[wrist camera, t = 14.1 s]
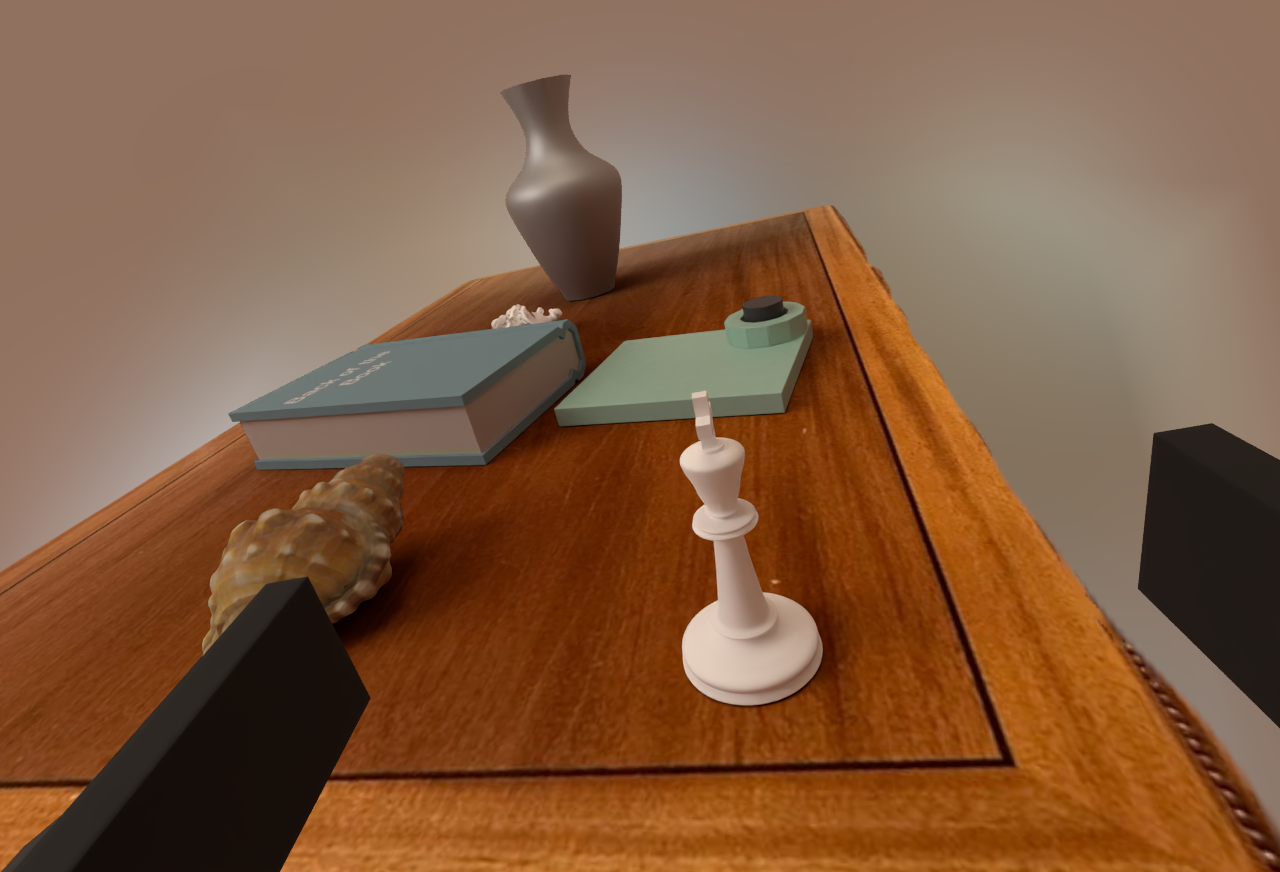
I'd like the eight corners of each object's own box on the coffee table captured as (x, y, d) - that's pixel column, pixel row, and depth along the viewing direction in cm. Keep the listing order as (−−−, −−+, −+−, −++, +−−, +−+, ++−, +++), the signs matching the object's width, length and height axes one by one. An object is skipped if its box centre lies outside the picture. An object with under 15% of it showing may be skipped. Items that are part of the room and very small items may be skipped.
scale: (814, 334, 53) (809, 297, 52) (784, 413, 41) (778, 367, 40) (630, 353, 59) (622, 321, 58) (558, 426, 48) (547, 387, 46)
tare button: (787, 310, 51) (785, 293, 51) (781, 323, 49) (778, 305, 48) (749, 315, 53) (746, 298, 52) (741, 327, 50) (738, 310, 50)
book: (257, 469, 54) (228, 413, 52) (390, 389, 67) (370, 341, 65) (485, 464, 44) (460, 395, 42) (588, 371, 57) (573, 315, 55)
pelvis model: (561, 292, 72) (543, 303, 66) (570, 330, 74) (553, 344, 68) (492, 305, 74) (469, 317, 68) (502, 342, 75) (480, 357, 69)
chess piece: (811, 597, 26) (775, 352, 22) (834, 698, 21) (793, 413, 17) (684, 613, 26) (626, 380, 22) (681, 713, 22) (607, 444, 18)
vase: (625, 300, 79) (568, 64, 69) (518, 317, 84) (451, 100, 74) (655, 270, 91) (611, 67, 81) (560, 287, 96) (508, 97, 86)
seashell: (307, 628, 37) (317, 448, 37) (438, 646, 35) (449, 456, 36) (150, 684, 28) (164, 447, 28) (315, 712, 26) (330, 459, 27)
